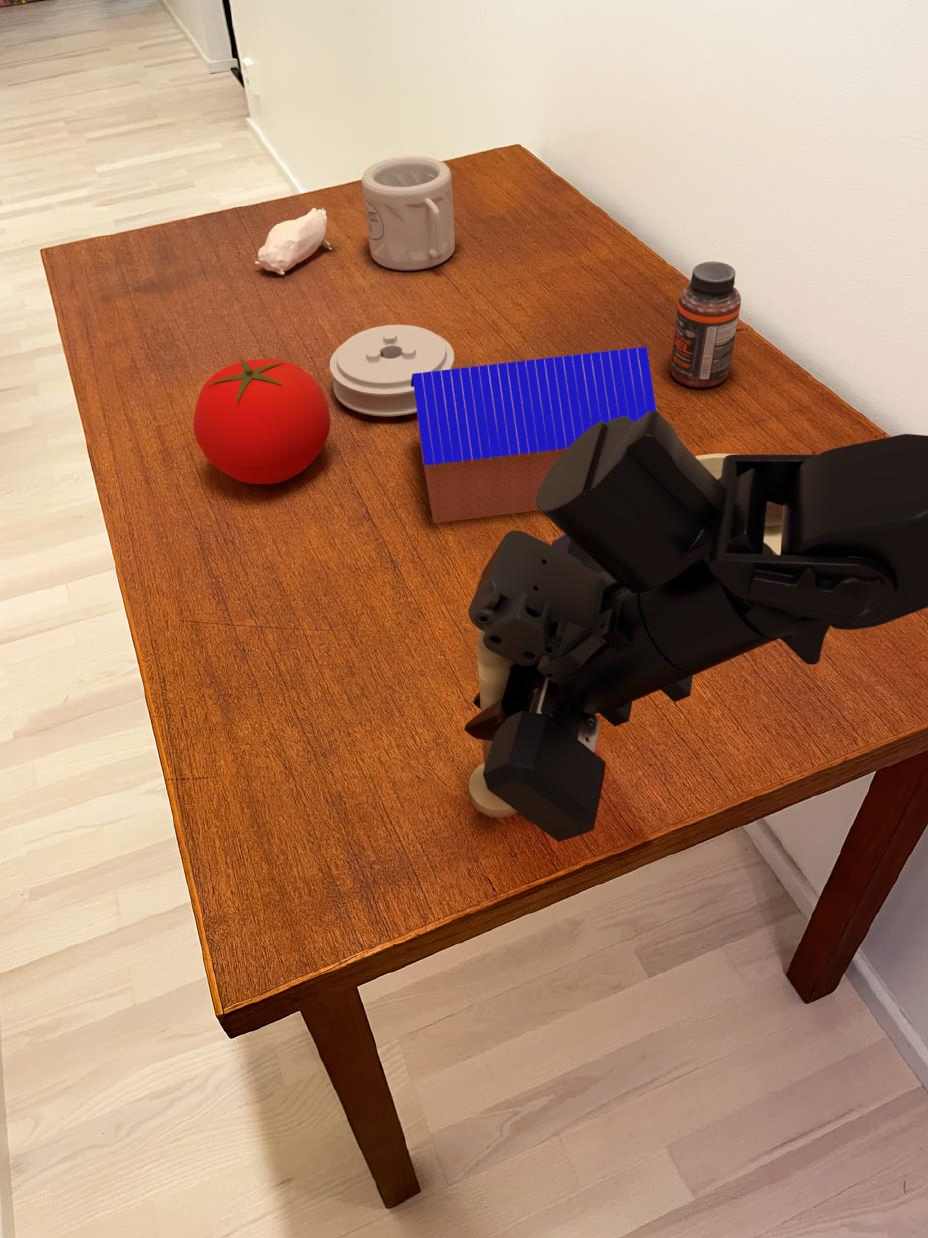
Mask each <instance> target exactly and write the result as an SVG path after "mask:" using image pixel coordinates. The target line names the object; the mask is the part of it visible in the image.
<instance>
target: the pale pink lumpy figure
mask: <svg viewBox="0 0 928 1238" xmlns="http://www.w3.org/2000/svg"><path fill="white" fill-rule="evenodd" d="M327 225H328V216H327V211H326V210H325V209H324V207H322V208H321V209H320V208H318V209H317V208H316V207H312V209H311V210H310V211H309V212H308V213H307V214H305V215H302V216H299V217H298V218H296V219H290V220H285V221H281V222H280V223H277V224H276V225H274V226H273V227H272V228H271V230H270V231H269V232H268V235H267V237H266V240H265V243H264V245H263V246H262V247H260V248H259V249H258V252H257V255H258V256H257V259H258V260H255V261H254V264H255V265H258V266H260V267H262V268H264V269H265V270H266V271H269V272H275V273H277V274H278V275H280V276H283V275H285V272H287V271H288V270H291V268H293V267H295V266H296V264H300V263H302V262H303V261H305V260H306V259H307V258H309V257H310V256H312V255H313V254H314V253H316V251H317V250H318V248H319V247H322V246H323V247H324V248H326V249H328V250H329V251H332V247H331V244H330V242H329V241H327V240H326V239H325V235H326V232H327Z"/></svg>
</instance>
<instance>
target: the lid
mask: <svg viewBox="0 0 928 1238" xmlns="http://www.w3.org/2000/svg"><path fill="white" fill-rule="evenodd" d="M329 360H330V361H329V370H330V374H331V376H332V378H333V384H332V388H333V392H334V395H335V397H336V398H337V400H338V401H339V402H340V403H341V404H342V405H343V406H345V407H346V408H348V409H350V410H352V411H354V412H356V413H361V414H362V415H368V416H374V417H399V416H407V415H411V414H415V413H416V414H417V407H416V399H415V391H414V387H411V380H412V374H414V373H422V372H431V371H440V370H448V369H454V367H453V366H454V364H455V352H454V349H453V346H451V343H450V342H449V341H447V340H446V339H445V338H444V337H442V336H440V335H439V334H436V333H435V332H433V331H431V330H429V329H427V328H423V327H421V326H415V325H412V324H411V325H410V324H387V325H380V326H376V327H371V328H368V329H365V330H362V331H359V332H358V333H356V334H353V335H352V336H351V337H349V338H348V339H347V340H345V341H344V342H343V343H342V344H340V345H339V346H338V348H336V349H335V351H334V352H333V354H332V355H331V358H330V359H329Z"/></svg>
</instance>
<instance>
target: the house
mask: <svg viewBox="0 0 928 1238" xmlns="http://www.w3.org/2000/svg"><path fill="white" fill-rule="evenodd" d="M411 387H414V391H415V399H416V407H417V412H416V415H417V417H416V418H417V425H418V436H419V447H420V453H421V459H422V465H423V470H424V471H423V472H424V476H425V481H426V487H427V488H426V489H427V493H428V499H429V505H430V510H431V511H430V512H431V517H432V523H433V524H440V523H448V522H449V523H450V522H457V521H465V520H472V519H481V518H489V517H497V516H505V515H513V514H520V513H529V512H537V511H540V510H539V509H538V508H537V505H536V497H537V493H538V490H539V487H540V485H541V483H542V481H543V479H544V478H545V476H546V475H547V473H548V471H549V470H550V468H551V467H552V466H553V464H554V463H555V462H556V461H557V459H558V458H559V457H560V456H561V454H562V453H563V452H564V451H565V450H566V449H567V448H568V447H569V446H570V445H571V444H572V443H573V442H574V441H575V440H576V439H577V438H578V437H579V436H580V435H582V434H583V433H584V432H586V431H587V430H588V429H589V428H591V427H592V426H593V425H595V424H596V423H598V422H599V421H603V422H604V423H606V422H608V421H610V420H612V419H614V418H618V417H622V416H623V417H629V418H630V419H631V420H632V421H634V422H635V421H637V420H638V419H640V418H641V417H642V416H644V415H645V414H647V413H648V412H650V411H657V406H656V400H655V393H654V387H653V381H652V373H651V367H650V359H649V354H648V347H647V346H640V347H631V348H624V349H613V350H604V351H596V352H587V353H579V354H571V355H561V356H552V357H545V358H536V359H535V358H534V359H528V360H527V359H526V360H519V361H510V362H502V363H501V362H500V363H494V364H484V365H474V366H467V367H458V368H453V369H448V370H440V371H431V372H422V373H414V374H412V380H411Z"/></svg>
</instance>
